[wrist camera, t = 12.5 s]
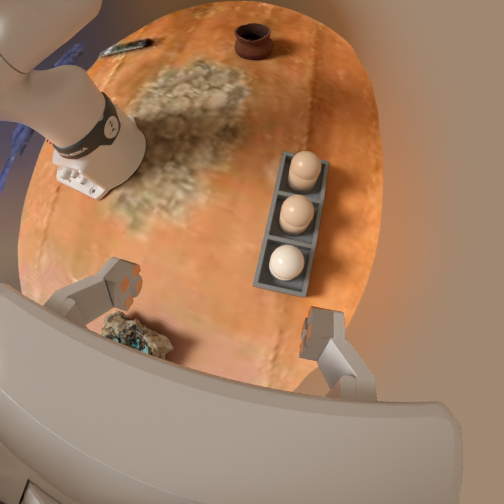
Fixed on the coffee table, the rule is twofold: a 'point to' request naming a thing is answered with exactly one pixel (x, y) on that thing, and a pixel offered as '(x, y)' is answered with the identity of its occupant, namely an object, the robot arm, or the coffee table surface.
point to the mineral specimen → (135, 335)
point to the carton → (294, 218)
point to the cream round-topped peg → (286, 263)
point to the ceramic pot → (253, 41)
